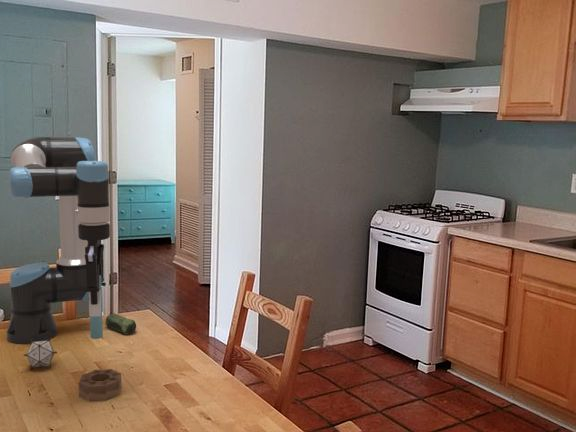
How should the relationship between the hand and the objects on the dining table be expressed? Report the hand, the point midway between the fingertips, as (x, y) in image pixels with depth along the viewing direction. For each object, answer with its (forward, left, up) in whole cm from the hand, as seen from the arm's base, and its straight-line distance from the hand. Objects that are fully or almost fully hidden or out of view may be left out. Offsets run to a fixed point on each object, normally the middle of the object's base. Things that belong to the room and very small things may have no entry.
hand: (96, 313), depth 145 cm
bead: (0, +1, -21) cm, 21 cm away
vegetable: (-46, 0, -22) cm, 51 cm away
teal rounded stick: (0, 0, -6) cm, 6 cm away
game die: (-18, -18, -21) cm, 33 cm away
